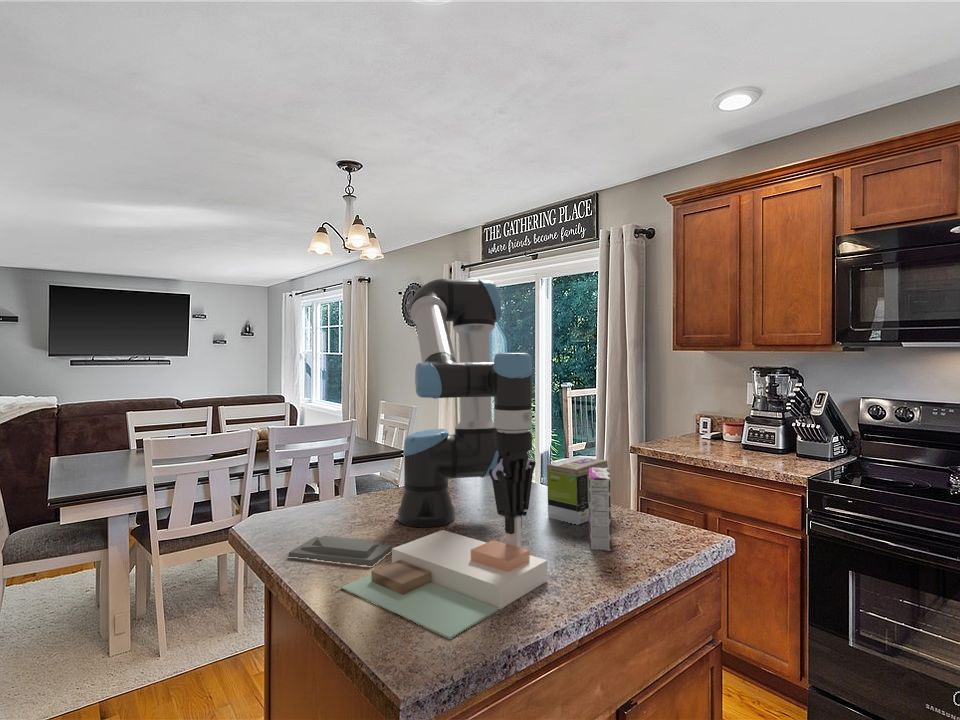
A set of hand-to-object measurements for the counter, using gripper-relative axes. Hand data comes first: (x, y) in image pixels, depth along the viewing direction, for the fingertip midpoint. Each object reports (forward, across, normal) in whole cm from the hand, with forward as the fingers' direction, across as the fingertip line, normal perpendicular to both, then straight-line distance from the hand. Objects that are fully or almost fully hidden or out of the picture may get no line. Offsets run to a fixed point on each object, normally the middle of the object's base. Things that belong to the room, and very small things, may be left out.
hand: (513, 548), depth 106 cm
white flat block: (+5, -6, +7) cm, 11 cm away
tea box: (+5, +42, +9) cm, 43 cm away
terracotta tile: (+1, -4, 0) cm, 4 cm away
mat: (+5, -20, +7) cm, 22 cm away
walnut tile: (+5, -17, +14) cm, 23 cm away
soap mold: (+6, -15, +36) cm, 39 cm away
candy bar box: (+5, +27, -5) cm, 28 cm away
